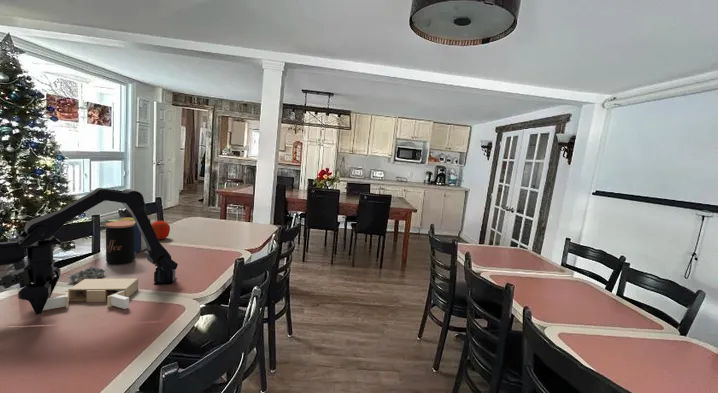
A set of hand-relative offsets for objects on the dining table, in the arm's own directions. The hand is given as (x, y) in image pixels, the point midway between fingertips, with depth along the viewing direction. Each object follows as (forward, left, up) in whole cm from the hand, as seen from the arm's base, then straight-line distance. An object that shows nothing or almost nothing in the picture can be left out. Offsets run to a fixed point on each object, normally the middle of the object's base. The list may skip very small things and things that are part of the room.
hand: (42, 307), depth 99 cm
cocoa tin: (-7, -11, -1) cm, 13 cm away
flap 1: (-2, -2, -1) cm, 3 cm away
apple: (-2, -87, -1) cm, 88 cm away
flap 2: (-22, -2, -1) cm, 22 cm away
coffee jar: (0, -47, -1) cm, 48 cm away
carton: (-12, -11, -1) cm, 16 cm away
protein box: (+5, -67, -2) cm, 68 cm away
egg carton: (+2, -26, -2) cm, 26 cm away
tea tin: (-17, -11, -1) cm, 20 cm away
